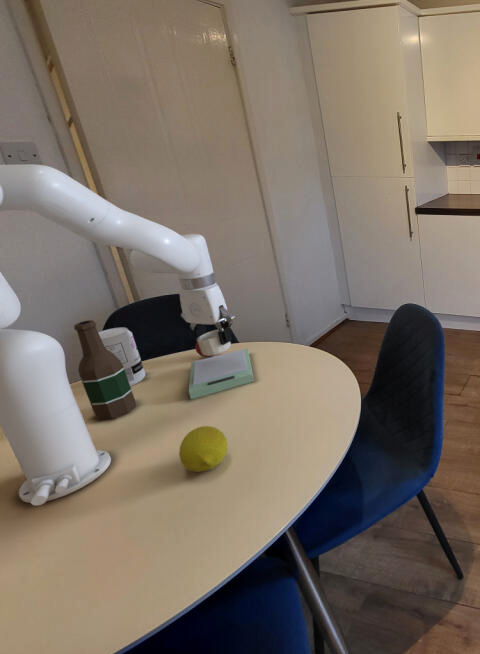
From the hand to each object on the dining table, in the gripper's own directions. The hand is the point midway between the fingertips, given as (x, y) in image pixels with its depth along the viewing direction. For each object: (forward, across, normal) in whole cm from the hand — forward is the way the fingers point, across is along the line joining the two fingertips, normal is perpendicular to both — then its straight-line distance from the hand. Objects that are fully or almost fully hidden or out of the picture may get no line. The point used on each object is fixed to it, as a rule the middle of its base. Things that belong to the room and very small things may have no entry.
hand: (214, 341), depth 115 cm
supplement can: (+10, -24, -8) cm, 27 cm away
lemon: (+10, +26, -30) cm, 41 cm away
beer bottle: (+10, -12, -19) cm, 25 cm away
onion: (+11, -12, +8) cm, 18 cm away
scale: (+10, +1, -1) cm, 10 cm away
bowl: (+3, 0, 0) cm, 3 cm away
